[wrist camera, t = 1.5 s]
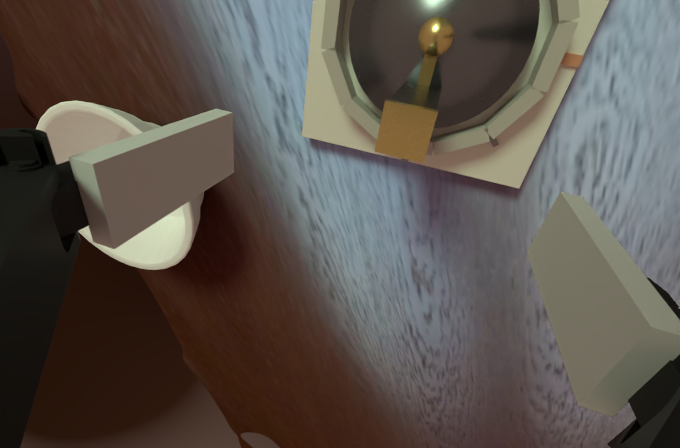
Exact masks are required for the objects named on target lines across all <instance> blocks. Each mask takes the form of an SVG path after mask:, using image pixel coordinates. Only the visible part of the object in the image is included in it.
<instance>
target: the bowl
mask: <svg viewBox="0 0 680 448" xmlns="http://www.w3.org/2000/svg"><path fill="white" fill-rule="evenodd" d="M159 127H161V126H159V125H156V124H154V123H150V122H144V121H142V120H140V119H139V118H137V117H135V116H133V115H131V114H128V113H126V112H123V111H120V110H117V109H113V108H109V107H105V106H101V105H98V104H94V103H88V102H82V101H68V102H61V103H59V104H57V105H55V106H53V107H51V108H49V109H48V110H47V111H46V113H45V114H44V115H43V116H42V117H41V118H40V120H39V123H38V125H37V128H36V129H37V130H41V131H44V132H45V133H47V136H48V139H49V142H50V145H51V148H52V151H53V155H54V158H55V161H56V164H60V163H63V162H66V161H69V158H68V157H70V156H73V155H76V154H79V153H83V152H86V151H89V150H92V149H95V148H98V147H101V146H104V145H107V144H110V143H113V142H116V141H119V140H122V139H125V138H128V137H131V136H135V135H138V134H141V133H144V132H147V131H150V130H153V129H156V128H159ZM203 198H204V192H203V193H201V194H200V195H198V196H196V197H195V198H193V199H192V200H190V201H189V202H187V203H186V204H184V205H182V206H181V207H179V208H178V209H176V210H175V211H173V212H172V213H170V214H168V215H167V216H165V217H164V218H162V219H161V220H159V221H158V222H156V223H154V224H153V225H151V226H150V227H148V228H147V229H145V230H144V231H142V232H140V233H139V234H137V235H136V236H134V237H133V238H131V239H130V240H128V241H127V242H125V243H123V244H122V245H120V246H119V247H117V248H116V249H112V248H109V247H106V246H103V245H100V244H97V243H94V242H93V239H92V236H91V232H90V229H89V226H87V227H85V228H83V229H81V230H79V231H78V232H79V233H81V234H82V235H83V236H84V237H85V238H86V239H87V240H88V241H89V242H91V243H92V244H93V245H95V246H96V247H97V248H99V249H100V250H101V251H103V252H104V253H106V254H108V255H109V256H111V257H113V258H115V259H116V260H118V261H121V262H123V263H125V264H128V265H130V266H134V267H137V268H141V269H149V270H158V269H166V268H169V267H171V266H174V265H176V264H178V263H179V262H180V261H181V260H182V259H184V258H185V256H186V255H187V253H188V251H189V250H190V248H191V245H192V243H193V240H194V237H195V234H196V231H197V228H198V224H199V221H200V206H201V204H202V201H203Z"/></svg>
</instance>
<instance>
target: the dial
mask: <svg viewBox="0 0 680 448" xmlns="http://www.w3.org/2000/svg"><path fill="white" fill-rule="evenodd" d="M539 13H540V4H539V0H355V1H354V4H353V8H352V12H351V17H350V24H349V50H350V57H351V62H352V66H353V69H354V72H355V75H356V77H357V80H358V82H359V84H360V86H361V88H362V89H363V91H364V93H365V94H366V95H367V97H368V98H369V99H370V101H371V102H372V103H373V104H374V105H375V106H376V107H377V108H378V109H380V110H381V111H382V112H383V113H382V118H381V123H380V127H379V132H378V137H377V142H376V147H375V152H379V153H383V154H387V155H391V156H395V157H399V158H403V159H408V160H412V161H416V162H420V163H423V162H424V159H425V155H426V152H427V149H428V145H429V142H430V138H431V135H432V132H433V128H441V127H447V126H452V125H456V124H459V123H462V122H464V121H467V120H469V119H471V118H473V117H475V116H477V115H479V114H480V113H482V112H484V111H485V110H487V109H488V108H490V107H491V106H492V105H493V104H494V103H496V102H497V101H498V100H499V99H500V98H501V97H502V96H503V95H504V94H505V93H506V92H507V91H508V90H509V89H510V87H511V86H512V85H513V83H514V82H515V81H516V80H517V78H518V76H519V75H520V73H521V72H522V70H523V68H524V67H525V65H526V62H527V60H528V58H529V56H530V54H531V51H532V48H533V45H534V42H535V39H536V34H537V29H538V25H539Z"/></svg>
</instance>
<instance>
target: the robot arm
mask: <svg viewBox="0 0 680 448" xmlns="http://www.w3.org/2000/svg"><path fill="white" fill-rule="evenodd" d="M68 158H69V161H66V162H63V163H60V164H56V161H55V158H54V155H53V151H52V148H51V145H50V142H49V139H48V136H47V133H45V132H44V131H41V130H37V129H29V128H11V129H10V128H9V129H2V130H0V448H20V446H21V442H22V439H23V436H24V432H25V429H26V426H27V422H28V419H29V415H30V412H31V408H32V405H33V402H34V398H35V395H36V392H37V388H38V385H39V381H40V378H41V374H42V371H43V368H44V364H45V361H46V358H47V354H48V351H49V347H50V344H51V341H52V337H53V334H54V330H55V327H56V324H57V320H58V317H59V313H60V310H61V307H62V304H63V300H64V297H65V293H66V290H67V287H68V283H69V280H70V276H71V273H72V270H73V266H74V263H75V259H76V256H77V253H78V249H79V246H80V243H81V242H80V236H79V233H78V231H79V230H81V229H83V228H85V227H87V226H89V229H90V232H91V236H92V239H93V242H94V243H97V244H100V245H103V246H106V247H109V248H112V249H116V248H117V247H119V246H120V245H122V244H123V243H125V242H127V241H128V240H130V239H131V238H133V237H134V236H136V235H137V234H139V233H140V232H142V231H144V230H145V229H147V228H148V227H150V226H151V225H153V224H154V223H156V222H158V221H159V220H161V219H162V218H164V217H165V216H167V215H168V214H170V213H172V212H173V211H175V210H176V209H178V208H179V207H181V206H182V205H184V204H186V203H187V202H189V201H190V200H192V199H193V198H195V197H196V196H198V195H200V194H201V193H203V192H204V191H206V190H207V189H209V188H210V187H212V186H214V185H215V184H217V183H218V182H220V181H221V180H223V179H224V178H226V177H228V176H229V175H231V174H232V173H234V159H233V113H232V112H228V111H224V110H220V109H214V110H211V111H208V112H205V113H202V114H199V115H196V116H193V117H190V118H186V119H183V120H180V121H177V122H174V123H171V124H168V125H165V126H162V127H159V128H156V129H153V130H150V131H147V132H144V133H141V134H138V135H135V136H131V137H128V138H125V139H122V140H119V141H116V142H113V143H110V144H107V145H104V146H101V147H98V148H95V149H92V150H89V151H86V152H83V153H79V154H76V155H73V156H70V157H68ZM527 255H528V258H529V261H530V264H531V267H532V270H533V273H534V276H535V279H536V282H537V285H538V288H539V291H540V294H541V297H542V300H543V303H544V306H545V309H546V312H547V315H548V318H549V321H550V324H551V327H552V330H553V333H554V336H555V339H556V342H557V345H558V348H559V351H560V354H561V357H562V360H563V363H564V366H565V369H566V372H567V375H568V378H569V381H570V384H571V387H572V390H573V393H574V396H575V399H576V402H577V405H578V406H581V407H584V408H587V409H590V410H593V411H596V412H599V413H602V414H605V415H608V416H611V417H613V416H614V415H615V414H616V413H617V412H618V411H619V410H621V409H622V408H623V407H624V406H625V405H626V404H627V403H628V402H629V403H630V405H631V408H632V410H633V412H634V414H635V416H636V418H637V419H636V420H634V421H633V422H632V423H631V424H630V425H629V426H628V427H626V428H625V429H624V430H623V431H622V432H621V433H619V434H618V435H617V436H616V437H615V438H614V439H613V440H611V441H610V442H609V443H608V445H609V446H610V447H611V448H680V309H678V307H679V306H678V305H677V304H676V303H675V301H674V300H673V299H672V298H671V296H670V295H669V294H668V293H667V292H666V291H665V290H663V289H662V288H661V287H660V286H658V285H657V284H656V283H655V282H653V281H652V280H651V279H649V278H646V276H645V275H644V274H643V273H642V271H641V270H640V269H639V267H638V266H637V265H636V264H635V262H634V261H633V260H632V259H631V257H630V256H629V255H628V253H627V252H626V251H625V250H624V248H623V247H622V246H621V245H620V243H619V242H618V241H617V239H616V238H615V237H614V236H613V234H612V233H611V232H610V231H609V229H608V228H607V227H606V225H605V224H604V223H603V222H602V220H601V219H600V218H599V217H598V215H597V214H596V213H595V211H594V210H593V209H592V208H591V206H590V205H589V204H588V202H587V201H586V200H585V199H584V197H580V196H576V195H572V194H568V193H564V192H560V194H559V196H558V197H557V199H556V201H555V203H554V205H553V206H552V208H551V210H550V212H549V214H548V215H547V217H546V219H545V221H544V223H543V224H542V226H541V228H540V230H539V232H538V233H537V235H536V237H535V239H534V241H533V242H532V244H531V246H530V248H529V250H528V251H527Z"/></svg>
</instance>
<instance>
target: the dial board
mask: <svg viewBox="0 0 680 448" xmlns="http://www.w3.org/2000/svg"><path fill="white" fill-rule="evenodd" d="M354 1H355V0H313V10H312V22H311V34H310V46H309V59H308V71H307V83H306V95H305V108H304V120H303V132H302V136H304V137H308V138H312V139H316V140H321V141H325V142H329V143H333V144H337V145H341V146H345V147H349V148H354V149H358V150H362V151H366V152H370V153H374V154H378V155H382V156H387V157H391V158H395V159H399V160H403V161H407V162H411V163H416V164H420V165H424V166H428V167H432V168H436V169H440V170H444V171H449V172H453V173H457V174H461V175H465V176H469V177H473V178H477V179H482V180H486V181H490V182H494V183H498V184H502V185H506V186H510V187H515V188H520V186H521V184H522V182H523V180H524V178H525V175H526V173H527V171H528V169H529V167H530V165H531V163H532V161H533V159H534V157H535V155H536V153H537V150H538V148H539V146H540V144H541V142H542V140H543V138H544V136H545V134H546V132H547V130H548V128H549V126H550V123H551V121H552V119H553V117H554V115H555V113H556V111H557V109H558V107H559V105H560V103H561V101H562V98H563V96H564V94H565V92H566V90H567V88H568V86H569V84H570V82H571V80H572V78H573V76H574V73H575V71H576V69H577V67H579V66H580V63H581V61H582V59H583V57H584V56H583V55H584V53H585V51H586V49H587V46H588V44H589V42H590V40H591V38H592V36H593V34H594V32H595V30H596V28H597V26H598V24H599V21H600V19H601V17H602V15H603V13H604V11H605V9H606V7H607V5H608V3H609V1H610V0H539V4H540V13H539V25H538V29H537V34H536V39H535V42H534V45H533V48H532V51H531V54H530V56H529V58H528V60H527V62H526V65H525V67H524V68H523V70H522V72H521V73H520V75H519V76H518V78H517V80H516V81H515V82H514V83H513V85H512V86H511V87H510V89H509V90H508V91H507V92H506V93H505V94H504V95H503V96H502V97H501V98H500V99H499V100H498V101H497V102H496V103H494V104H493V105H492V106H491V107H490V108H488V109H487V110H485V111H484V112H482V113H480V114H479V115H477V116H475V117H473V118H471V119H469V120H467V121H464V122H462V123H459V124H456V125H452V126H447V127H441V128H433V132H432V135H431V138H430V142H429V145H428V149H427V152H426V155H425V159H424V162H423V163H420V162H416V161H412V160H408V159H403V158H399V157H395V156H391V155H387V154H383V153H379V152H375V147H376V142H377V137H378V132H379V127H380V123H381V118H382V113H383V112H382V111H381V110H380V109H378V108H377V107H376V106H375V105H374V104H373V103H372V102H371V101H370V99H369V98H368V97H367V95H366V94H365V93H364V91H363V89H362V88H361V86H360V84H359V82H358V80H357V77H356V75H355V72H354V69H353V66H352V62H351V57H350V50H349V24H350V17H351V12H352V8H353V4H354Z"/></svg>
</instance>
